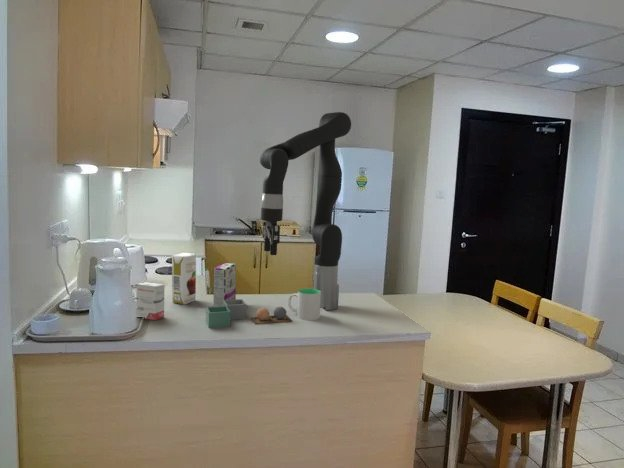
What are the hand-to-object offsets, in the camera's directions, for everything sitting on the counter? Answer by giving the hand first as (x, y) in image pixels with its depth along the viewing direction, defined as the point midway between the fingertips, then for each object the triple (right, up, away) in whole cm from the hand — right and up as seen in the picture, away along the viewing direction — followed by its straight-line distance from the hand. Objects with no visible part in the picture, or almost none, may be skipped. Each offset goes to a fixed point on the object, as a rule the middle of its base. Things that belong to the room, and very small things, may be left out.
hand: (270, 253), depth 167 cm
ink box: (-42, -23, 0) cm, 48 cm away
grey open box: (-13, -23, +2) cm, 27 cm away
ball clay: (-2, -23, -3) cm, 24 cm away
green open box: (-17, -24, -8) cm, 31 cm away
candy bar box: (-19, -22, +15) cm, 32 cm away
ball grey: (+3, -23, 0) cm, 23 cm away
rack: (0, -24, -1) cm, 24 cm away
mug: (+11, -24, +5) cm, 27 cm away
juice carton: (-36, -20, +21) cm, 46 cm away
